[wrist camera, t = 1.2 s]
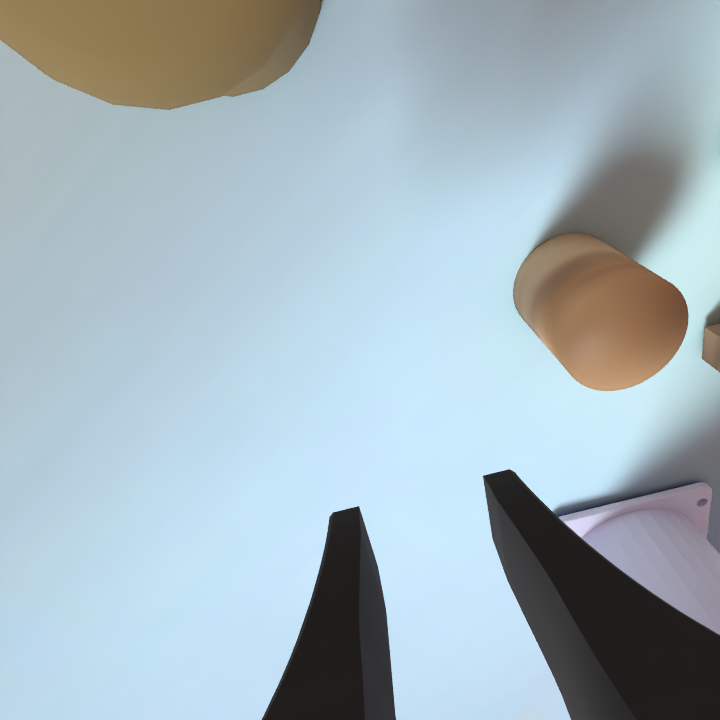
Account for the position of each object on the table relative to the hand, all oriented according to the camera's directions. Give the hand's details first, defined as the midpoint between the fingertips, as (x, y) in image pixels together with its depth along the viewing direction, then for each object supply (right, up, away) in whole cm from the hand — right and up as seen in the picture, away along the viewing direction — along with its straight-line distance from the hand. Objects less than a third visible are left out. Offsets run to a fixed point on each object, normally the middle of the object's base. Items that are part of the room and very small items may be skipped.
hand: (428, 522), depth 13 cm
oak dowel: (+6, +7, +9) cm, 12 cm away
